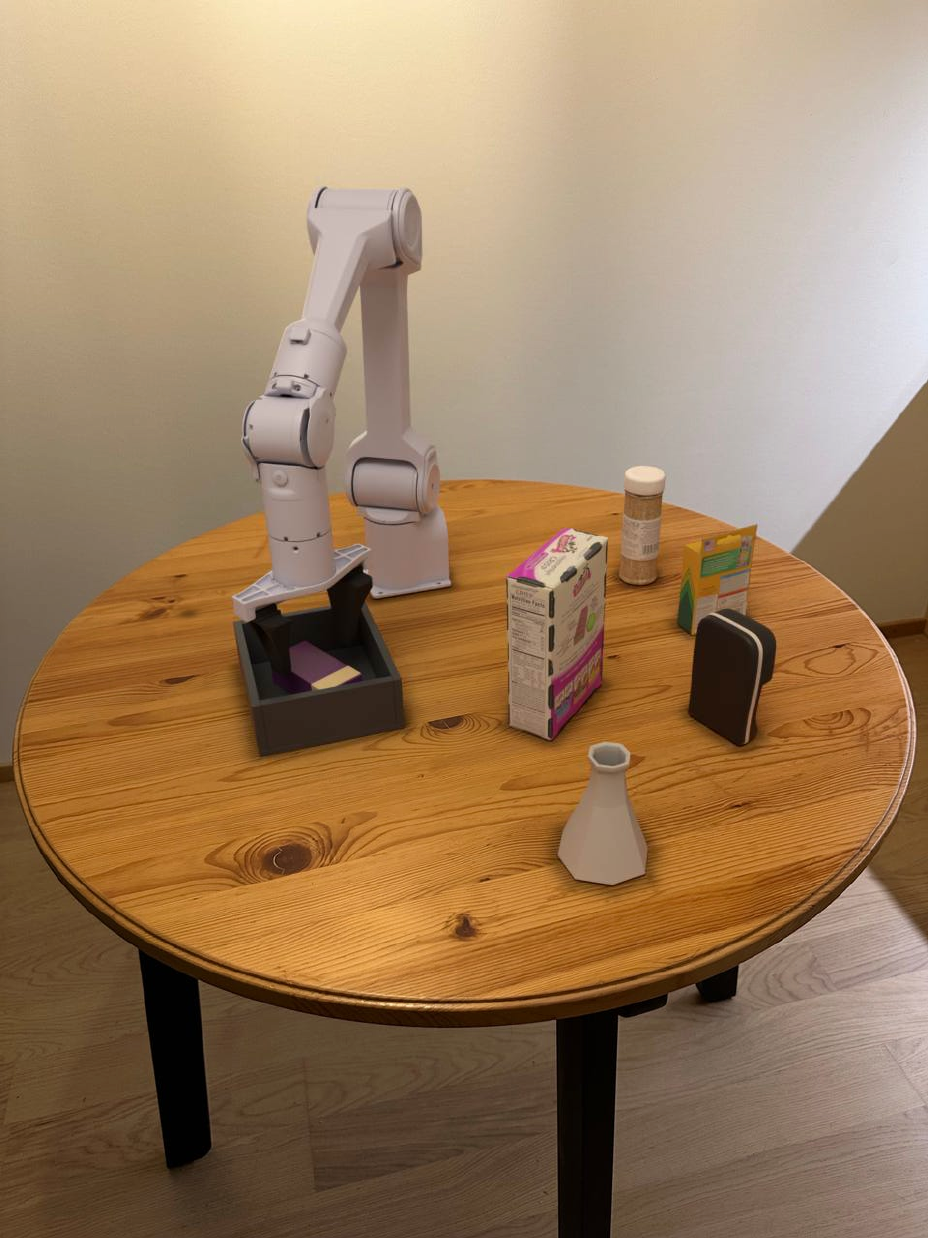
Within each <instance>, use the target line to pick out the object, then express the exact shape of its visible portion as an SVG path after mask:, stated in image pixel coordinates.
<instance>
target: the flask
mask: <svg viewBox="0 0 928 1238" xmlns="http://www.w3.org/2000/svg"><path fill="white" fill-rule="evenodd" d="M631 755H632V754H631V752H630V751H629V750H628V749H627V748H626V747H625V746H624V744H623V743H619V742H610V741H602V742H599V743H595V744H592V745H589V751H588V755H587V761H588V763H589V764H590V766H591V767H590V776H589V779H588V782H587V786H586V788H585V790H584V791H583V793H582V796H581V797H580V799H579V801H578V803H577V805H576V807H575V809H574V810H573V811H572V813H571V814H570V815H571V816H570V817H569V818H568V820H567V821H566V824H565V826H564V827H563V830H562V833H561V838H560V841H559V845H558V846H559V847H558V851H557V856H558V858H559V860H561V862H562V863H563V865H564V866H565V867H566V869H567V870H568V871H569V873H570V874H571V876H572V877H573V879H575V880H578V881H585V882H591V883H597V884H603V885H608V886H614V885H617V884H620V883H623V882H625V881H628V880H631V879H634V878H637V877H640V876H642V875H645V874H646V869H647V868H646V867H647V858H648V849H649V848H648V845H647V842H646V839H645V836H644V833H643V831H642V828H641V826H640V824H639V821H638V818H637V816H636V813H635V809H634V806H633V804H632V801H631V798H630V795H629V791H628V785H627V776H626V770H629V768H630V762H631Z"/></svg>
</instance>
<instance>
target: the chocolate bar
mask: <svg viewBox="0 0 928 1238" xmlns="http://www.w3.org/2000/svg"><path fill="white" fill-rule="evenodd" d="M289 652H290V660H291V675H289V676H287V677H283V676H281V675H280V674H278V673H277V672H275V671H274V670H273V669H272V666H271V671H272V678H273V683H275V684H276V685H278V686H279V687H281V688H282V689H284V690H285V691H287V692H288V693H290V694H291V695H292V694H298V693H303V692H308V691H314V690H319V689H324V688H330V687H335V686H340V685H345V684H351V683H356V682H361V681H362V674H361V673H360V672H358V671H356V670H355V669H353V668H351V667H350V666H347V665H345V664H344V663H342V662H340V661H339V660H337V659H335V658H334V657H332V656H330V655H329V654H327V653H325V652H324V651H322V650H320V649H318V648H317V647H315V646H313V645H312V644H310V643H308V642H307V641H303V642H301V643H299V644H297V645H295V646H293V647H291V648H289Z"/></svg>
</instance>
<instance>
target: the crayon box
mask: <svg viewBox="0 0 928 1238" xmlns="http://www.w3.org/2000/svg"><path fill="white" fill-rule="evenodd" d="M757 531H758V524H757V523H755V524H753V525H748V526H744V527H740V528H737V529H733V530H729V531H726V532H721V533H717V534H713V535H710V536H706V537H702V538H701V540H698V541H694V542H690V543H686V544H684V545H683V554H682V555H683V556H682V565H681V566H682V567H681V577H680V578H681V579H680V589H679V599H678V600H679V601H678V609H677V610H678V611H677V620H676V624H677V626H679V627H680V628H681V629H683V631H685V632H687V633H688V634H689V635H691V636H692V637H693V636H696V631H697V627H698V623H699V622H700V620H701V619H702V618H703V617H704V616H705V615H707V614H710V613H714V612H717V611H719V610H721V609H727V608H729V609H732V610H735V611H737V612H739V613H741V614H744V615H746V616H747V607H748V600H749V599H748V598H749V591H750V582H751V574H752V568H753V559H754V552H755V551H754V550H755V542H756V538H757Z"/></svg>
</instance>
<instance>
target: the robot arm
mask: <svg viewBox="0 0 928 1238" xmlns="http://www.w3.org/2000/svg"><path fill="white" fill-rule="evenodd" d="M422 216H423V215H422V210H421V207H420V205H419V202H418V199H417V196H416V195H414V193H413V191H412V190H411V189H410V188H408V187H400V188H398V189H397V188H349V187H347V188H342V187H340V188H339V187H338V188H336V187H328V186H325V185H323V186H322V185H321V186H318V187H316V189H315V190H314V191H313V193H312V194H311V196H310V197H309V200H308V204H307V207H306V228H307V230H306V231H307V234H308V238H309V239H308V240H309V244H310V248H311V252H312V255H313V262H312V267H311V272H310V277H309V282H308V285H307V291H306V295H305V300H304V305H303V310H302V314H301V319H300V320H296V321H293V322H291V323H289V324H288V325H287V326H286V327H285V329H284V330H283V335H282V337H281V340H280V343H279V347H278V349H277V353H276V357H275V359H274V362H273V365H272V369H271V372H270V375H269V377H268V381H267V383H266V387H265V390H264V393H263V395H260V396H259V397H258V399H255V400H253V401H251V402H250V403H249V404H248V405H247V406H246V408H245V411H244V414H243V418H242V423H241V438H240V442H241V443H240V444H241V447H242V451H243V453H244V456H245V457H246V459H247V460H248V462H249V463H250V466H251V470H252V476H253V479H254V481H255V482H256V483H257V484H259V485H260V487H261V496H262V503H263V510H264V519H265V525H266V533H267V540H268V541H267V542H268V548H269V555H270V564H271V570H270V571H268V572H267V573H265V574H264V575H263V576H262V577H260V578H259V579H258V580H256V581H255V582H254V583H252V584H251V585H249V586H248V587H246V588H245V589H243V590H242V591H240V592H239V593H236V594H234V595H231V602H232V608H233V613H234V614H233V615H234V616H236V617H237V618H238V619H240V620H244V621H245V622H247V624H248V625H249V626H250V628H251V629H252V630H253V632H254V633H255V634H256V636H257V637H258V639H259V641H260V642H261V644H262V646H263V648H264V650H265V652H266V654H267V656H268V659H269V661H270V664H271V666H272V669H273V670H274V671H275V672H277V673H278V674H280V675H281V676H283V677H287V676H289V675H291V660H290V652H289V637H290V629H291V625H292V621H291V620H289V619H287V618H286V617H284V616H282V615H281V614H282V609H278V605H280V604H283V603H285V602H287V601H290V600H292V599H296V598H301V597H305V596H309V595H314V594H318V593H322V592H324V591H326V592H327V596H328V600H329V606H330V605H331V612H332V621H333V628H334V633H335V636H336V639H338V640H340V641H342V642H343V643H345V644H347V645H351V644H353V643H354V639H355V633H356V628H357V624H358V620H359V616H360V612H361V609H362V607H363V604H364V602H366V599H367V598H368V596H369V594H370V595H371V597H372V598H373V599H383V598H388V597H395V596H401V595H407V594H412V593H419V592H423V591H424V592H425V591H431V590H437V589H442V588H448V587H451V586H452V580H451V579H450V554H449V552H450V549H449V531H448V524H447V520H446V519H447V518H446V516H445V513H444V511H443V509H442V507H441V506H440V505H439V504H437V503H438V500H439V497H440V490H441V472H440V471H441V470H440V467H439V465H438V458H437V450H436V445H435V443H433V441H432V440H430V439H428V438H427V437H425V436H424V435H423V434H421V433H420V432H419V431H418V430H416V429H415V428H414V427H413V426H412V424H411V423H412V422H411V421H412V420H411V419H412V418H411V385H410V381H411V380H410V352H409V349H410V348H409V317H408V316H409V314H408V280H409V276H410V275H413V274H415V273H418V272H419V271H421V270H422V260H423V219H422V218H423V217H422ZM358 290H359V297H360V299H359V300H360V316H361V317H360V318H361V337H362V357H363V358H362V361H363V376H364V377H363V378H364V379H363V380H364V395H365V396H364V399H365V400H364V401H365V418H366V430H365V431H364V432H362V433H361V434H359V435H358V436H357V437H356V438H354V439H353V440H352V442H351V443H350V445H348V448H347V451H346V468H345V473H344V492H345V496H346V499H347V501H348V502H349V504H350V505H351V506H352V507H353V508H357V516H359V517H362V518H363V529H364V540H365V541H364V542H365V545H363V544H361V543H355V544H353V545H350V546H346V547H342V548H338V549H334V539H333V527H332V519H331V508H330V507H331V506H330V497H329V487H328V477H327V468H326V467H327V466H326V464H327V463H328V460H329V458H330V456H331V454H332V451H333V448H334V442H335V421H336V420H335V419H336V415H337V414H336V412H337V407H336V405H335V403H334V398H335V394H336V392H337V388H338V385H339V382H340V377H341V375H342V371H343V369H344V365H345V361H346V358H347V354H348V346H347V344H346V341H345V339H344V338H343V336H342V334H341V331H342V329H343V327H344V324H345V322H346V320H347V318H348V315H349V312H350V310H351V307H352V305H353V303H354V300H355V297H356V295H357V293H358Z"/></svg>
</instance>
